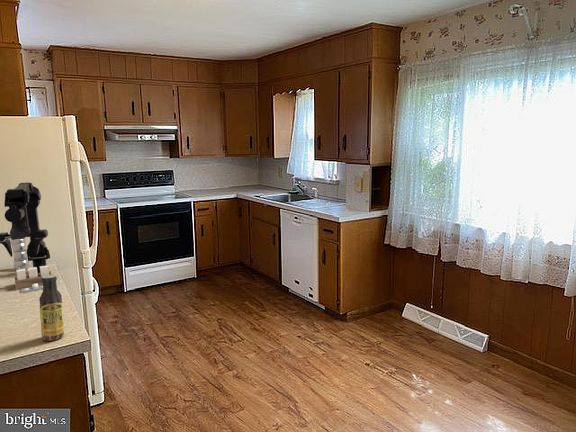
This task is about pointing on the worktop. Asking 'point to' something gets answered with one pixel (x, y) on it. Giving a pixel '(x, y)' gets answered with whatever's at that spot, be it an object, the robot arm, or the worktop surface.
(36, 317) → the worktop surface
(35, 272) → the button middle
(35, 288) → the card
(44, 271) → the button
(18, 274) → the button
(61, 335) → the sauce bottle
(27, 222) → the robot arm
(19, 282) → the board
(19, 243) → the plastic bottle
